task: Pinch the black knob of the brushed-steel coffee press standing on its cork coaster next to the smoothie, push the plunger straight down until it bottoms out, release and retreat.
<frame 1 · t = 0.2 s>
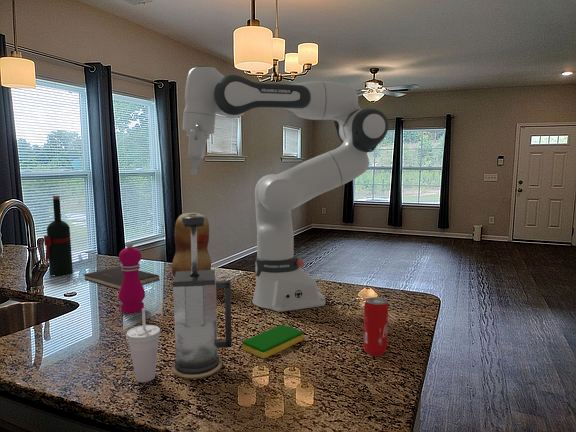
hand: (194, 174, 119), 39 cm above the counter, tool pointing down, fingers open, 8 cm apart
press carafe: (197, 366, 88), on the counter
wine bottle: (58, 274, 160), on the counter
dish sponge: (273, 346, 99), on the counter
smoothie: (145, 378, 83), on the counter
pepper mill: (132, 310, 121), on the counter
plunger: (194, 252, 85), point 24 cm above the counter, slide at 6.5 cm
butternut squash: (192, 283, 148), on the counter
hardcover book: (121, 281, 154), on the counter
beverage can: (374, 352, 95), on the counter
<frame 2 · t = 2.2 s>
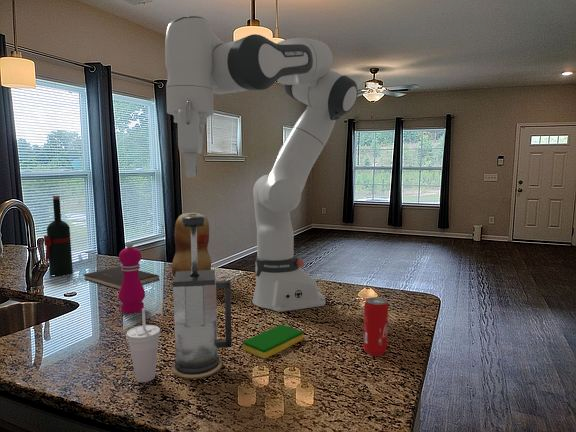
hand: (191, 176, 83), 40 cm above the counter, tool pointing down, fingers open, 8 cm apart
nothing on the counter moved.
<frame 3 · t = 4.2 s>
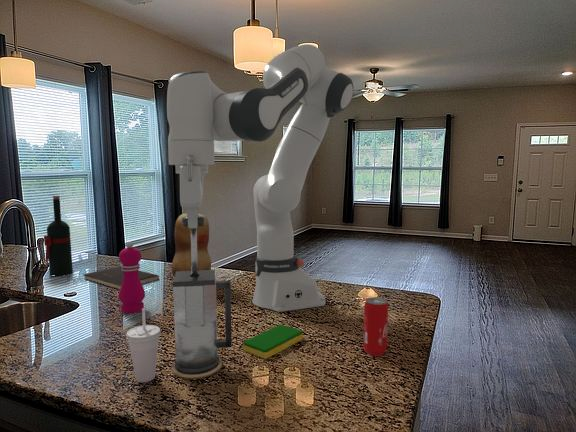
hand: (193, 225, 84), 30 cm above the counter, tool pointing down, fingers closed on plunger, 4 cm apart
plunger: (194, 252, 85), point 24 cm above the counter, slide at 6.5 cm, touching gripper
everything else where it was.
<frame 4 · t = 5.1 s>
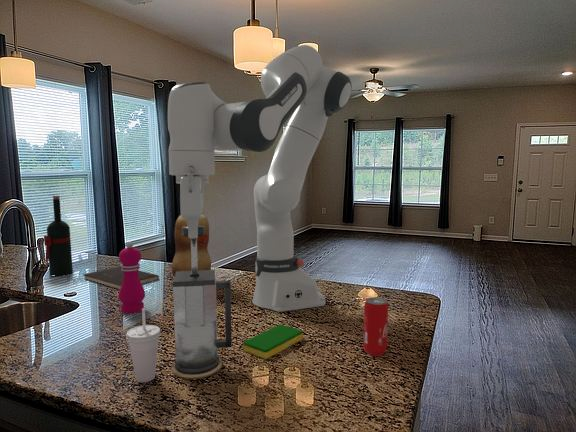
hand: (193, 235, 84), 28 cm above the counter, tool pointing down, fingers closed on plunger, 4 cm apart
plunger: (194, 261, 85), point 23 cm above the counter, slide at 4.5 cm, touching gripper
everything else where it was.
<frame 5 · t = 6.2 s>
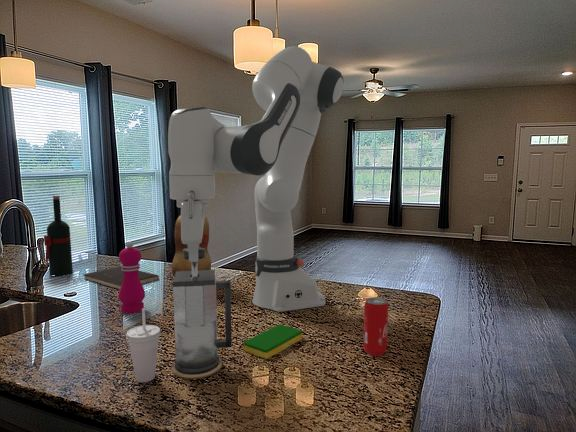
hand: (194, 257, 85), 23 cm above the counter, tool pointing down, fingers closed on plunger, 4 cm apart
plunger: (195, 283, 85), point 18 cm above the counter, slide at -0.1 cm, touching gripper
everything else where it was.
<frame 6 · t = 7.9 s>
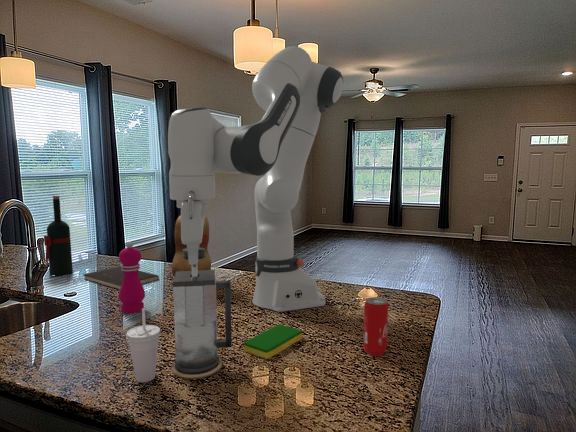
hand: (194, 258, 85), 23 cm above the counter, tool pointing down, fingers open, 8 cm apart
plunger: (195, 283, 85), point 18 cm above the counter, slide at -0.1 cm
everything else where it was.
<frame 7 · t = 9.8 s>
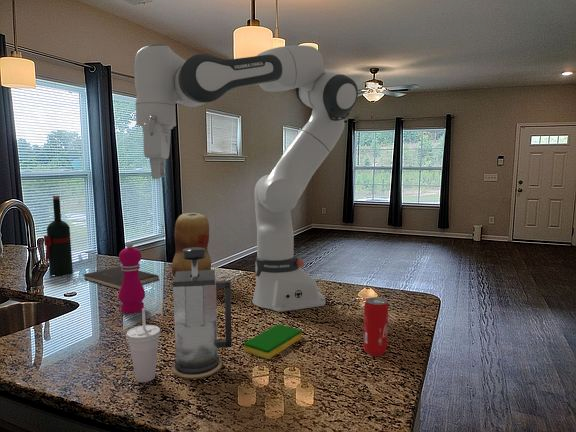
hand: (158, 178, 99), 39 cm above the counter, tool pointing down, fingers open, 8 cm apart
nothing on the counter moved.
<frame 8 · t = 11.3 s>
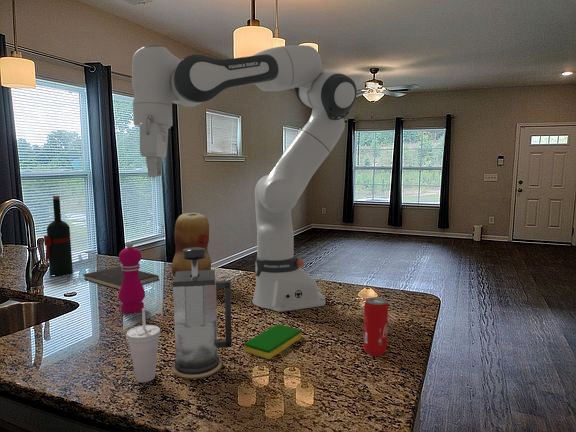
hand: (155, 176, 100), 39 cm above the counter, tool pointing down, fingers open, 8 cm apart
nothing on the counter moved.
at the end: plunger slide at -0.1 cm; the gripper is holding nothing; smoothie moved 0.2 cm from its start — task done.
